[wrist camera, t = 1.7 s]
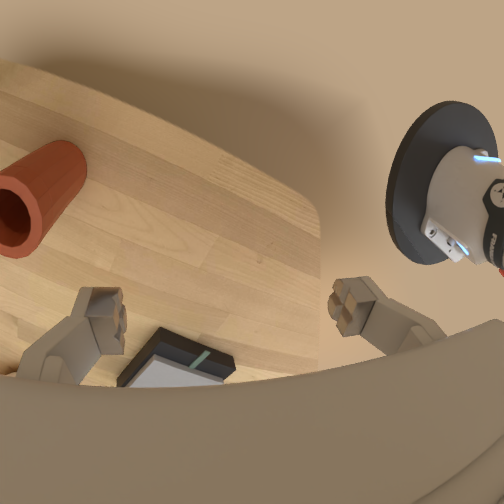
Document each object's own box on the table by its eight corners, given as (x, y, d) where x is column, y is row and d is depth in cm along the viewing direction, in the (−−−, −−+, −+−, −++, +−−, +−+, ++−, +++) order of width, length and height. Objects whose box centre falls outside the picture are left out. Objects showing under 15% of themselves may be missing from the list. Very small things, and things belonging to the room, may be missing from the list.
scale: (239, 350, 41) (244, 369, 38) (181, 400, 45) (183, 417, 42) (166, 319, 35) (167, 340, 32) (116, 378, 39) (115, 397, 36)
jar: (97, 159, 23) (55, 205, 14) (70, 208, 25) (28, 272, 16) (51, 129, 20) (-12, 159, 11) (27, 180, 22) (-31, 232, 13)
